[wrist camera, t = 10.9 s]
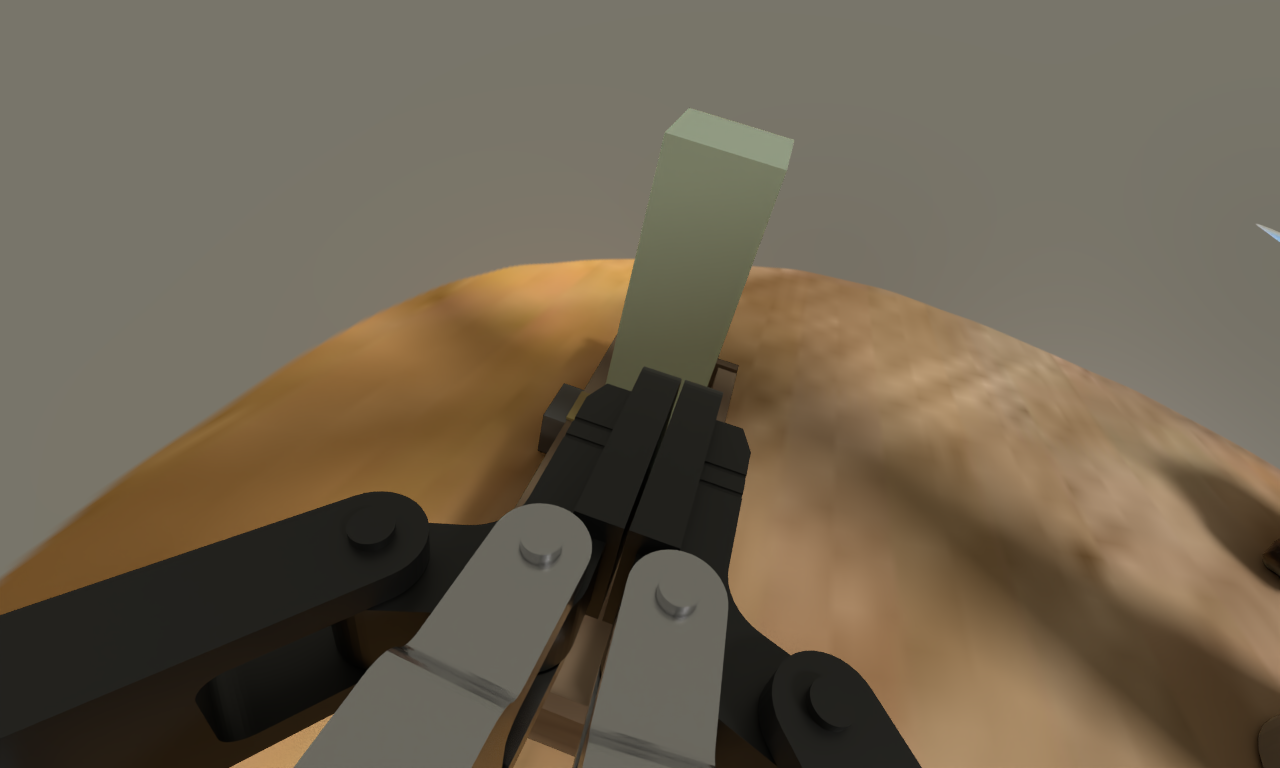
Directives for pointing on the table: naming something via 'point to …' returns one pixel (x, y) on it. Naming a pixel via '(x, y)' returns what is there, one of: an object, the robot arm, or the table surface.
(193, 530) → the table surface
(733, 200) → the block
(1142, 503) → the table surface
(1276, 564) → the decorative rock
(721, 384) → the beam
